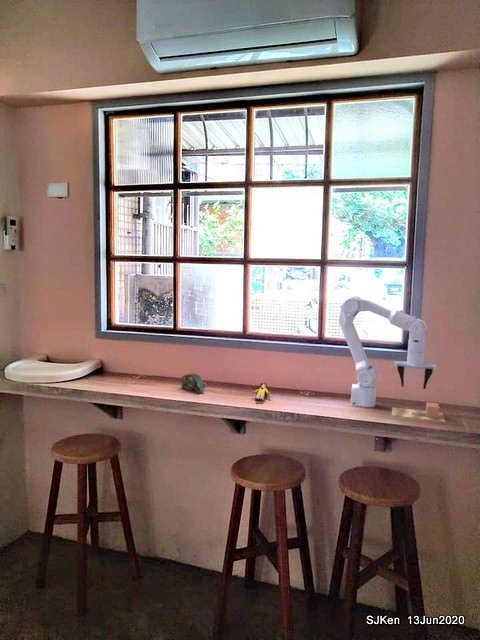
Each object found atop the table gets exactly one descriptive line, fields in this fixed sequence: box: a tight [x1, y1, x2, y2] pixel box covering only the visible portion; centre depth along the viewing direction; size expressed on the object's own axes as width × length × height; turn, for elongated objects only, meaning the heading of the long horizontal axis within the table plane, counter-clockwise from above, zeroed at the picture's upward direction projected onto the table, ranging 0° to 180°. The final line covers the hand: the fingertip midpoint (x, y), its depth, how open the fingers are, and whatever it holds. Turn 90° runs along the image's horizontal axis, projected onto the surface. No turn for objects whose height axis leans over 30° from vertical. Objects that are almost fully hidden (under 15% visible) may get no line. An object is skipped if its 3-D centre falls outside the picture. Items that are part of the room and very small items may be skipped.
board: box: [391, 406, 446, 423], centre depth 173 cm, size 18×11×1 cm, turn 71°
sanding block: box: [425, 402, 440, 419], centre depth 171 cm, size 4×6×4 cm, turn 161°
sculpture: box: [181, 373, 207, 395], centre depth 202 cm, size 13×6×7 cm, turn 37°
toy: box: [251, 382, 271, 404], centre depth 193 cm, size 8×4×15 cm
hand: (413, 387), depth 176 cm, fingers open, 7 cm apart
